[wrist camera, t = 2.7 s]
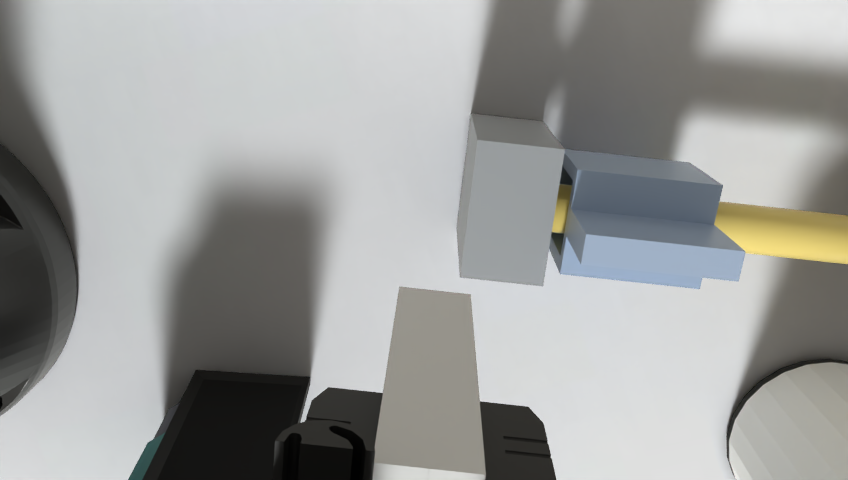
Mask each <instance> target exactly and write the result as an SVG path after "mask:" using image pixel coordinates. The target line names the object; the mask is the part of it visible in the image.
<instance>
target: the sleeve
mask: <svg viewBox="0 0 848 480" xmlns="http://www.w3.org/2000/svg"><path fill="white" fill-rule="evenodd" d="M560 184H564V185H572V189H571V195H570V201H569V207H568V213H567V219H566V225H565V231H564V233H555V232H552V233H551V240H550V246H549V249H550V251H551V254H552V256H553V258H554V261H555V263H556V265H557V268H558V270H559V272H560V274H565V275H574V276H583V277H593V278H602V279H611V280H620V281H630V282H639V283H648V284H657V285H667V286H676V287H685V288H694V289H700V285H701V281H702V278H710V279H720V280H729V281H739V277H740V273H741V269H742V265H743V261H744V256H745V252H746V251H745V250H743V249H742V248H741V247H740V246H739V245H737V244H736V243H735V242H734V241H733V240H732V239H730V238H729V237H728V236H727V235H726V234H725V233H723V232H722V231H721V230H720V229H719V228H718V227H716V226H715V225H714V223H715V219H716V214H717V210H718V205H719V201H720V196H721V192H722V187H723V185H722V184H720V183H719V182H717V181H716V180H714V179H713V178H711V177H710V176H708V175H707V174H706V173H704V172H703V171H701V170H700V169H698V168H697V167H695V166H694V165H692V164H691V163H688V162H679V161H670V160H661V159H652V158H643V157H634V156H625V155H615V154H606V153H597V152H588V151H579V150H570V149H565V153H564V159H563V165H562V172H561V178H560Z"/></svg>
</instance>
